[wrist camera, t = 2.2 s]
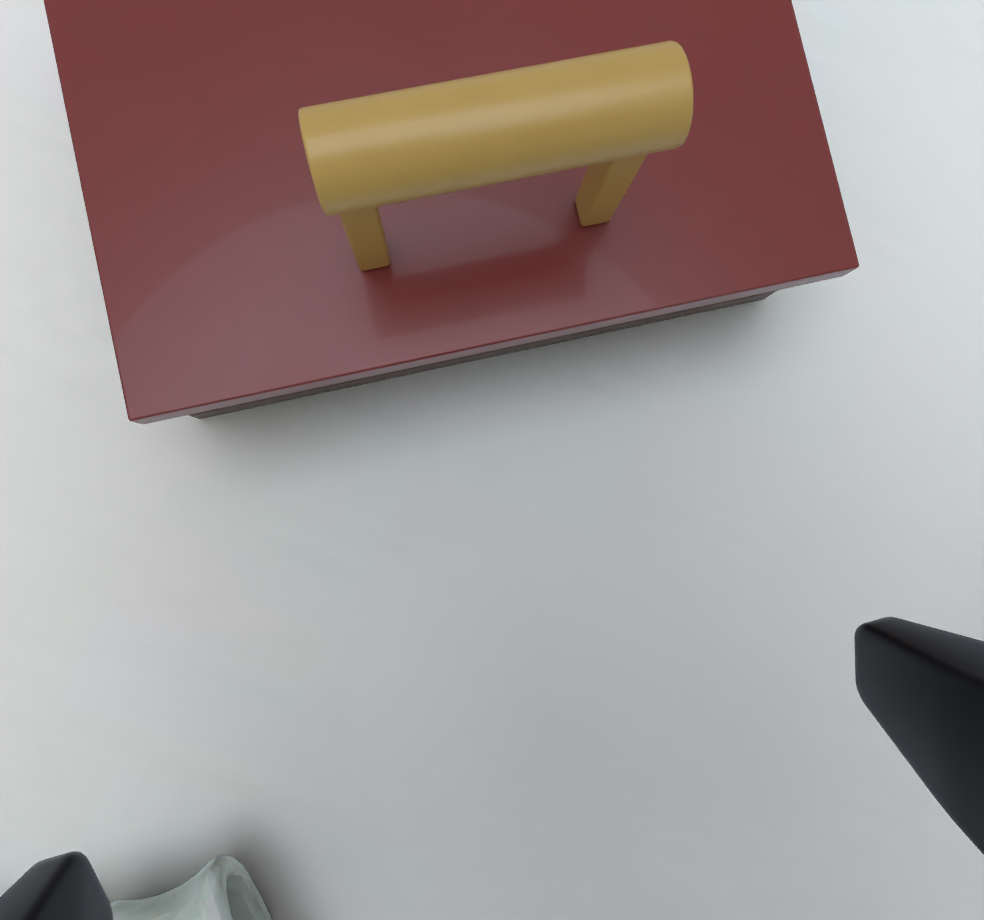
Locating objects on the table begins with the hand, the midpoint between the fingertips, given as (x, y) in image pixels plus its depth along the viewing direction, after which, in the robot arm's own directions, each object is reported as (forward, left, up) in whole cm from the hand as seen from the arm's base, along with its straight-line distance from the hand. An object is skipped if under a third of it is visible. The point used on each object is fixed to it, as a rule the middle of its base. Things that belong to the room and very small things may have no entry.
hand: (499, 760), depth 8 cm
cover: (+5, -12, -8) cm, 15 cm away
